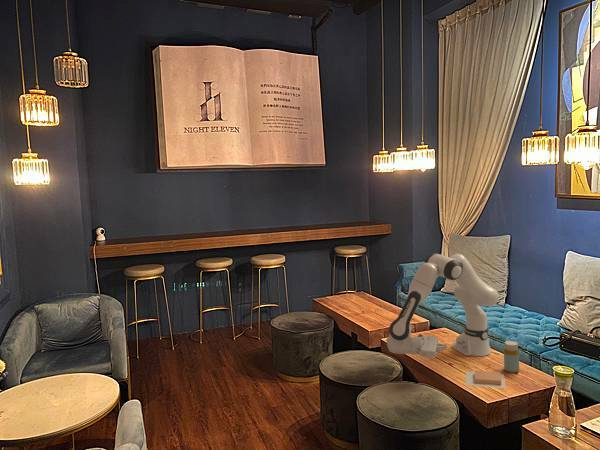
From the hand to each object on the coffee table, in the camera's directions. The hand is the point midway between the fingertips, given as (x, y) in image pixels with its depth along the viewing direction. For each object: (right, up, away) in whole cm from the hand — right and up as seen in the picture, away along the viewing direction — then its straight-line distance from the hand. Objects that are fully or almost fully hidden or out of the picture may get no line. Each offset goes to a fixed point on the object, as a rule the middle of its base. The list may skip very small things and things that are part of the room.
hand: (446, 347), depth 244 cm
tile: (+13, -14, -3) cm, 19 cm away
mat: (+18, -15, -4) cm, 24 cm away
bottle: (+35, -13, +4) cm, 37 cm away
